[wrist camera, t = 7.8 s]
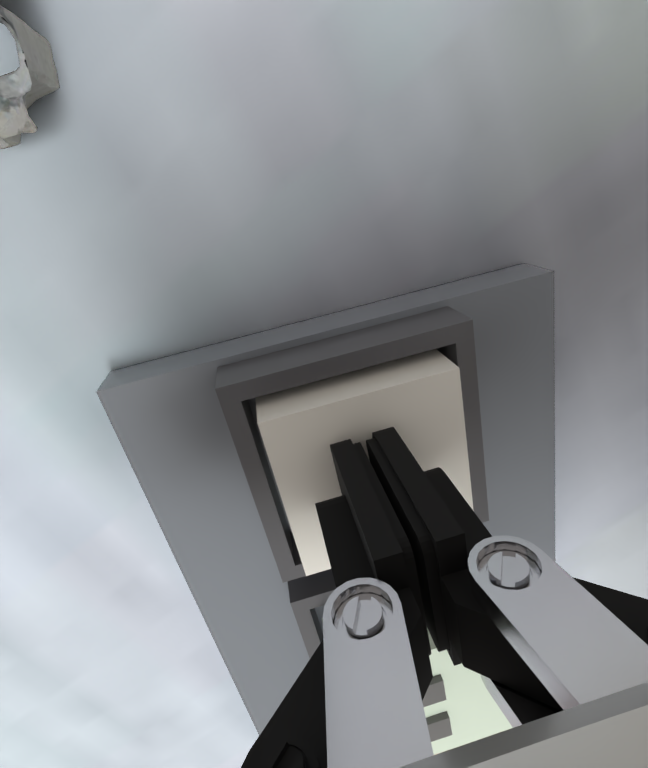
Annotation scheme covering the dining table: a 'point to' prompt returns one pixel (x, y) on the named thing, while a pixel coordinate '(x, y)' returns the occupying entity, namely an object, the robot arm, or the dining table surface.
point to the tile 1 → (360, 433)
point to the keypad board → (253, 469)
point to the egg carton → (24, 80)
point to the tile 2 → (458, 705)
